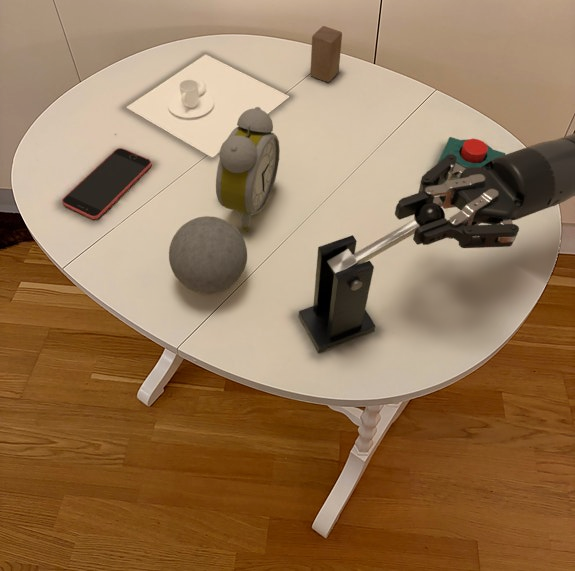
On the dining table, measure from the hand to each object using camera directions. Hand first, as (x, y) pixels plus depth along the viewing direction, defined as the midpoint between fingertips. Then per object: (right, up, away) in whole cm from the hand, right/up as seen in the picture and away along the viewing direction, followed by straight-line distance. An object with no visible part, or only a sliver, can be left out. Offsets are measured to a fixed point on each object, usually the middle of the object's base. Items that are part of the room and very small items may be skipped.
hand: (407, 224), depth 66 cm
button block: (+15, +11, +28) cm, 33 cm away
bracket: (-7, -12, +11) cm, 17 cm away
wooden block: (-7, +31, +42) cm, 53 cm away
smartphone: (-41, +9, +25) cm, 49 cm away
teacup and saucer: (-27, +25, +37) cm, 52 cm away
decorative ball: (-23, -6, +15) cm, 29 cm away
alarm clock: (-19, +5, +23) cm, 31 cm away
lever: (-1, -3, +3) cm, 4 cm away
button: (+15, +13, +25) cm, 32 cm away
